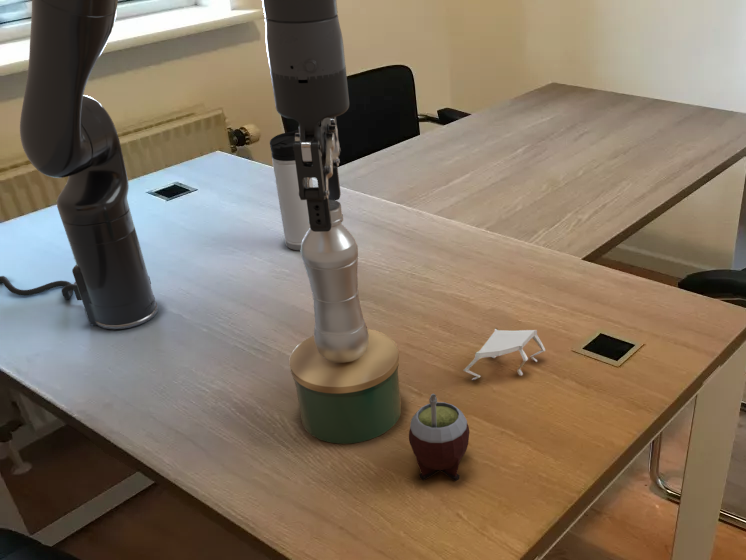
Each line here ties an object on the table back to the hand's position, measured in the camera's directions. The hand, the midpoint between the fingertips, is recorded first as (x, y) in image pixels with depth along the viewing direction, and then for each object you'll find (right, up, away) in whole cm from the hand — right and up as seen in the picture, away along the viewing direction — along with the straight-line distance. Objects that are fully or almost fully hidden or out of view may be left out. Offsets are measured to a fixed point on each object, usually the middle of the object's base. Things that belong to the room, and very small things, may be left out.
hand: (326, 214), depth 90 cm
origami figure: (+19, -18, +24) cm, 36 cm away
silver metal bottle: (0, -16, +11) cm, 19 cm away
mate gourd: (+13, -30, +7) cm, 33 cm away
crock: (0, -23, +16) cm, 28 cm away
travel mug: (-17, +6, +58) cm, 61 cm away
